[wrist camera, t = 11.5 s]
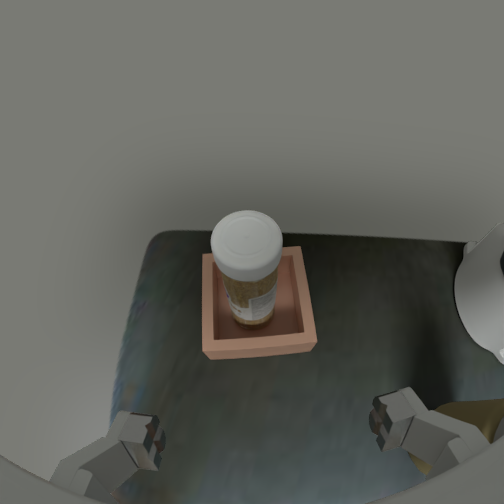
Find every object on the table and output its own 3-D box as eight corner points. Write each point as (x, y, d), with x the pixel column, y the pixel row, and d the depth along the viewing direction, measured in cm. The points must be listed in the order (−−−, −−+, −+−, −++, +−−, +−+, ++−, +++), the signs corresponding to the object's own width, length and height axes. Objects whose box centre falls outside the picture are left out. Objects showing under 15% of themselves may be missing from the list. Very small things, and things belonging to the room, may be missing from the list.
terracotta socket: (296, 265, 32) (300, 246, 28) (310, 351, 26) (317, 341, 23) (209, 272, 32) (202, 254, 28) (210, 359, 26) (202, 351, 23)
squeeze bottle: (465, 433, 19) (587, 409, 4) (419, 485, 17) (540, 508, 1) (434, 390, 22) (562, 341, 7) (383, 443, 20) (515, 451, 5)
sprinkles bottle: (224, 303, 29) (198, 225, 18) (261, 284, 30) (259, 197, 19) (244, 340, 27) (229, 280, 16) (283, 318, 28) (297, 245, 17)
